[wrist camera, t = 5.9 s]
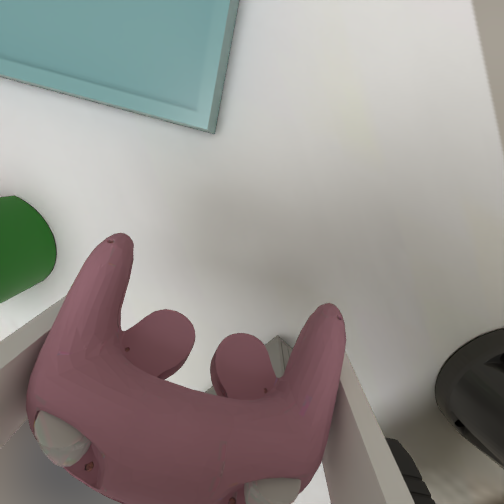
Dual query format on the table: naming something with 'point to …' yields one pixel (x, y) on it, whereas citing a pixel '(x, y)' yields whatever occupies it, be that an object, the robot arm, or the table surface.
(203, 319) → the table surface
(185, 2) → the tray
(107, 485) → the video game controller
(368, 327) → the table surface
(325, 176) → the table surface
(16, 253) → the motor
